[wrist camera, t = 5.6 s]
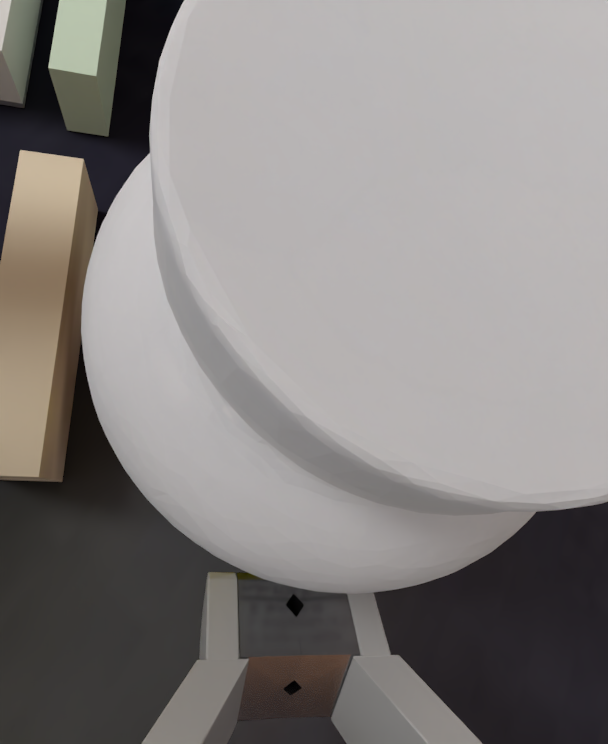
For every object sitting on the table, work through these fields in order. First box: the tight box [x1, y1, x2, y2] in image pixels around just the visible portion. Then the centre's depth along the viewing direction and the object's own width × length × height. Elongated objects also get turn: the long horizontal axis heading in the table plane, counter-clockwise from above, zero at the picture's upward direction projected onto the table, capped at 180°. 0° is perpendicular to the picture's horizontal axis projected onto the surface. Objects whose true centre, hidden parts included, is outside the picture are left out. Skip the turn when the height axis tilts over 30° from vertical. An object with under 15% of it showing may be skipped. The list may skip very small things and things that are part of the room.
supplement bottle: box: [81, 0, 608, 594], centre depth 10 cm, size 7×7×13 cm
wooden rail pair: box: [0, 150, 98, 482], centre depth 15 cm, size 8×13×2 cm, turn 89°
